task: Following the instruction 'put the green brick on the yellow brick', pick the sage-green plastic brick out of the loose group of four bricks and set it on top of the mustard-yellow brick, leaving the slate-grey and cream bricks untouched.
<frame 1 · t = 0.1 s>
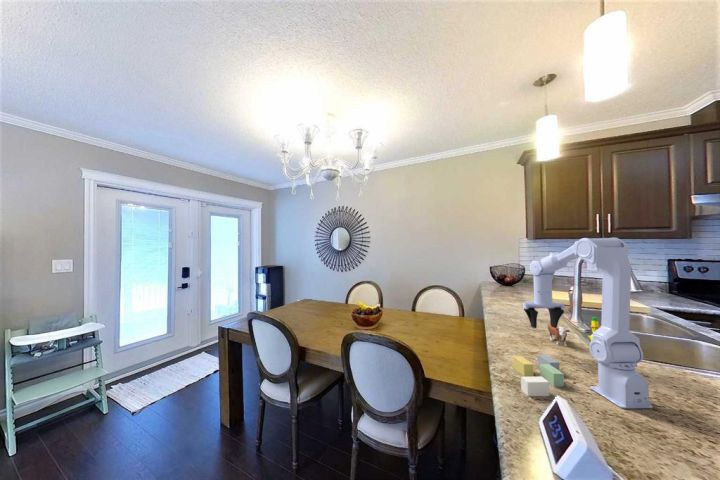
hand: (543, 327, 99), 10 cm above the table, fingers open, 7 cm apart
toy figure: (598, 348, 103), on the table
grey brick: (548, 370, 86), on the table
bull figurine: (558, 344, 108), on the table
green brick: (551, 381, 79), on the table
mustard brick: (523, 372, 85), on the table
cream brick: (535, 393, 73), on the table
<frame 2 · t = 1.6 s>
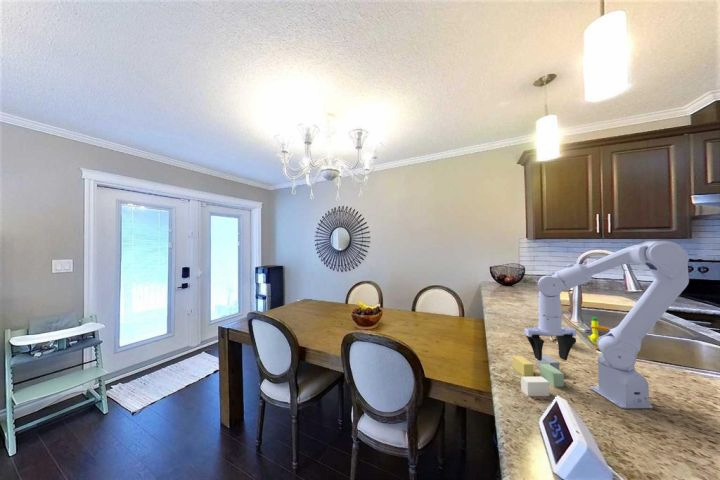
hand: (550, 359, 79), 7 cm above the table, fingers open, 7 cm apart
nothing on the table moved.
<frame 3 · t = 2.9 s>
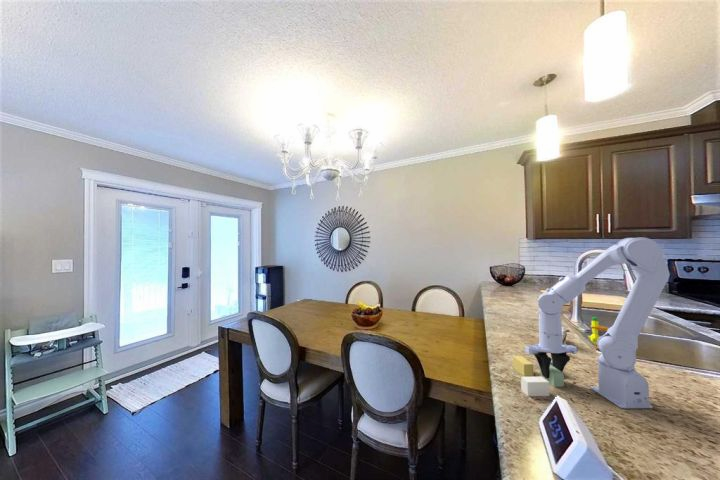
hand: (551, 376, 79), 1 cm above the table, fingers closed on green brick, 3 cm apart
green brick: (551, 381, 79), on the table, touching gripper
everything else where it was.
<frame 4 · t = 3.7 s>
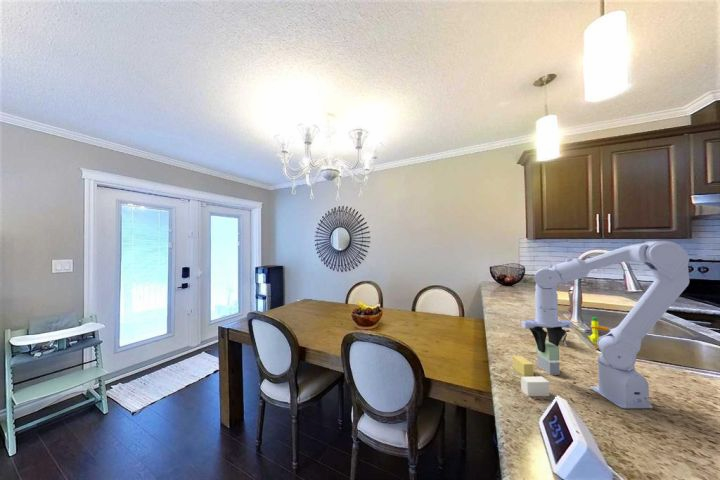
hand: (547, 351, 80), 9 cm above the table, fingers closed on green brick, 3 cm apart
green brick: (547, 356, 80), point 7 cm above the table, touching gripper
everything else where it was.
when the fingers open (6 cm above the table, at t = 4.9 s): green brick stays where it is, resting on mustard brick.
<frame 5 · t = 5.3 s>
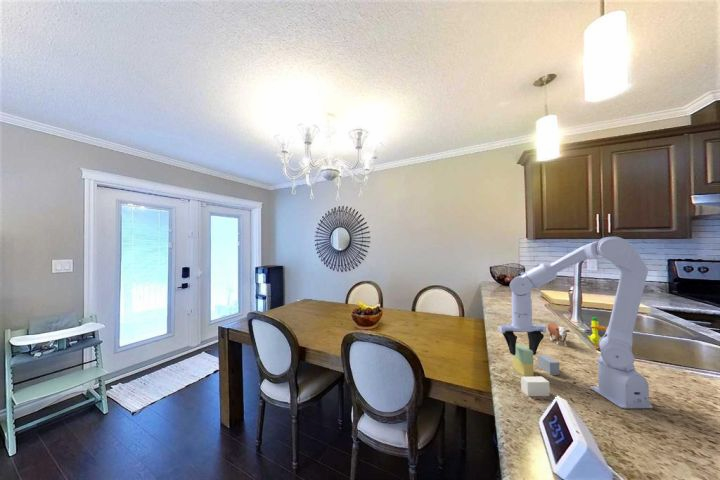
hand: (522, 353, 85), 6 cm above the table, fingers open, 6 cm apart
green brick: (522, 359, 85), point 4 cm above the table, touching mustard brick
mustard brick: (523, 371, 85), on the table, touching green brick
everything else where it was.
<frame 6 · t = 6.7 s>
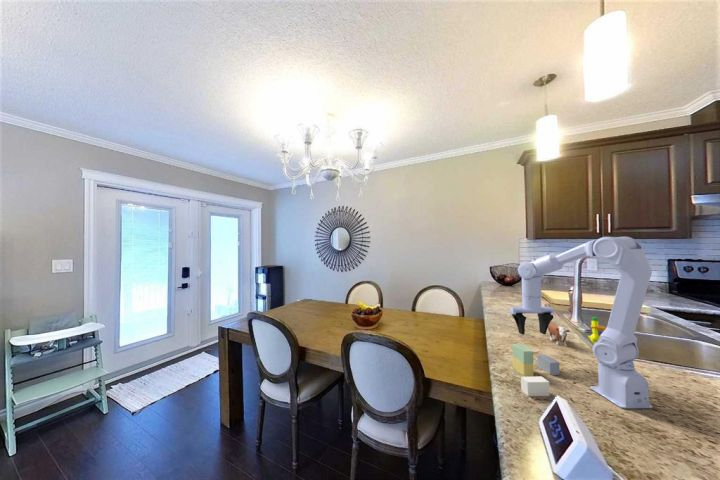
hand: (532, 333, 92), 10 cm above the table, fingers open, 7 cm apart
nothing on the table moved.
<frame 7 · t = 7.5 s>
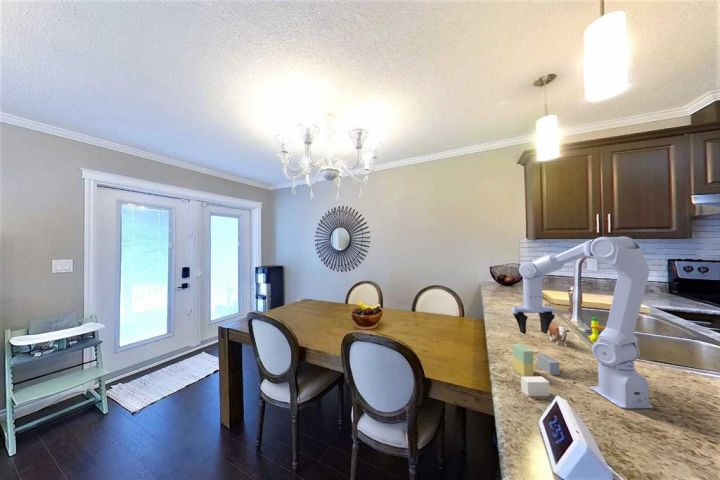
hand: (533, 332, 93), 10 cm above the table, fingers open, 7 cm apart
nothing on the table moved.
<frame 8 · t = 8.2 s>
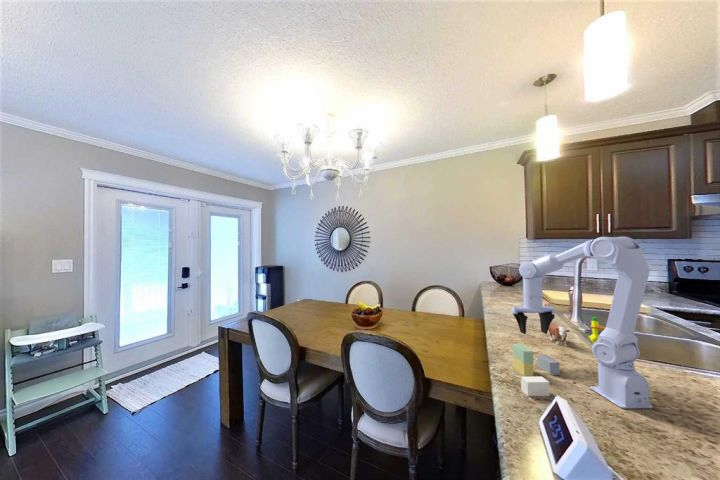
hand: (533, 332, 93), 10 cm above the table, fingers open, 7 cm apart
nothing on the table moved.
at the end: green brick 0.0 cm off-centre on the mustard brick, point 4.0 cm above the mustard brick's base; grey brick moved 0.2 cm from its start; cream brick moved 0.2 cm from its start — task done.
